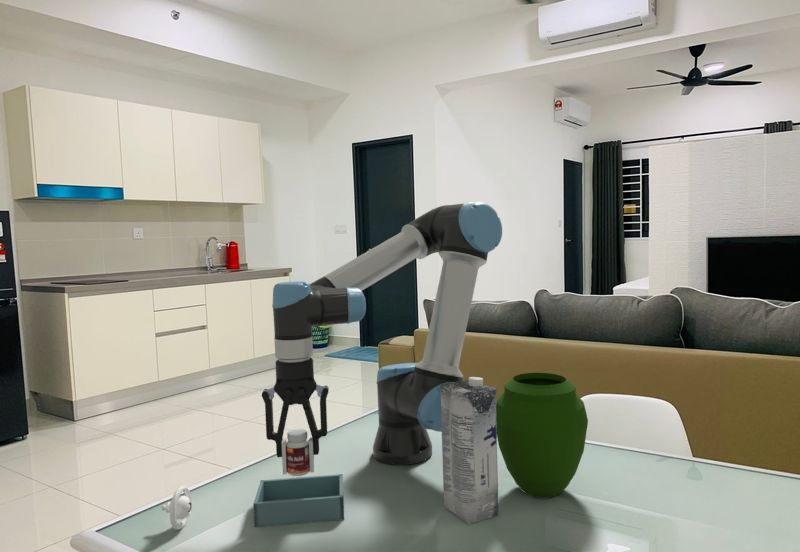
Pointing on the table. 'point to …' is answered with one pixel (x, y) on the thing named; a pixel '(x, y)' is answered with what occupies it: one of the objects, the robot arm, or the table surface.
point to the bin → (299, 500)
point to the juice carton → (469, 449)
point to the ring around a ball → (179, 507)
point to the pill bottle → (297, 452)
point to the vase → (541, 432)
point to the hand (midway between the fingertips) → (298, 470)
